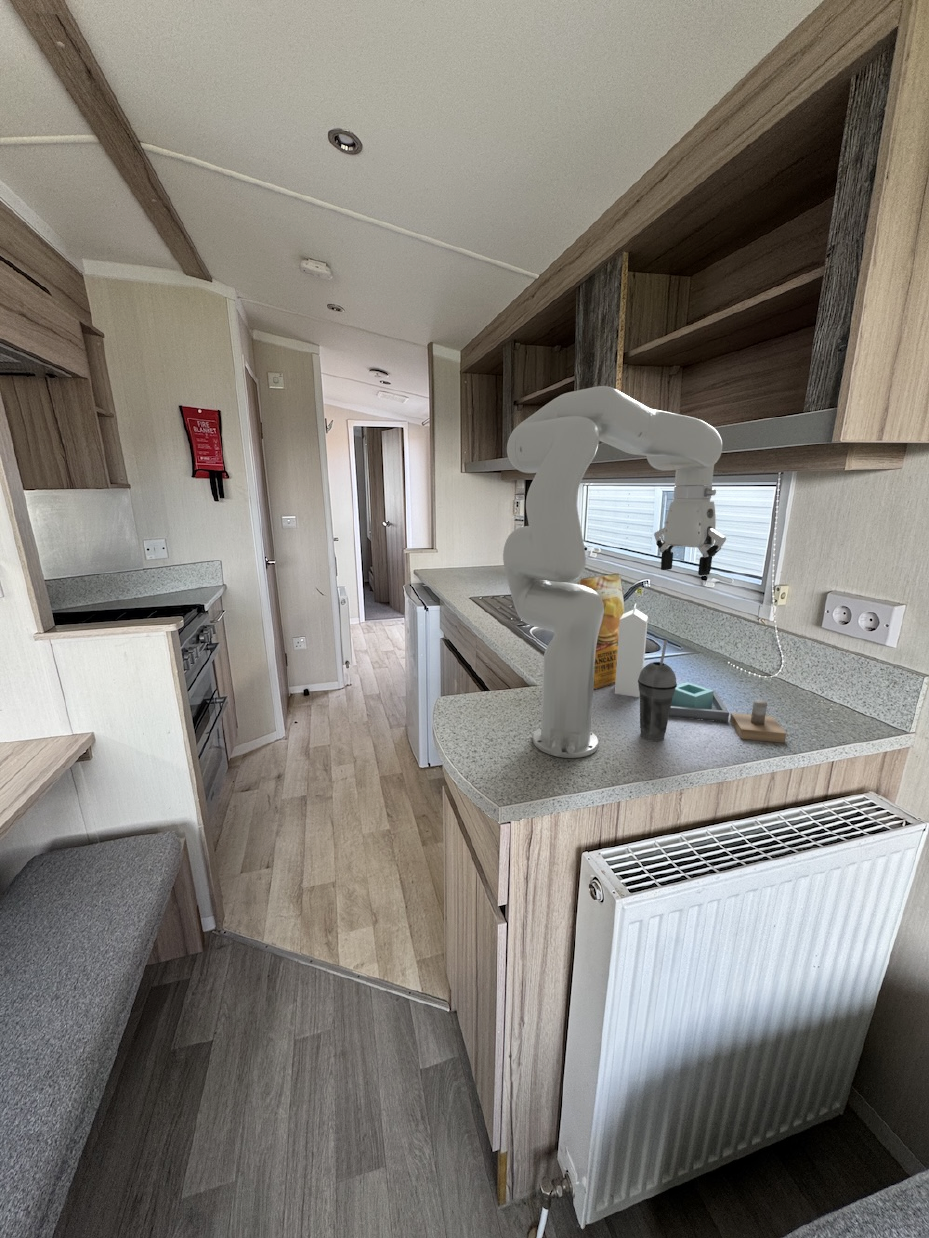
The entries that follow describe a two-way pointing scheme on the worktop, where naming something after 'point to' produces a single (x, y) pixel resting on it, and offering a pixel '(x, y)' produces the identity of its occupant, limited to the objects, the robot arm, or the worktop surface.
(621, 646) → the milk
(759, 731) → the wooden peg base
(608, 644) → the pancake mix bag
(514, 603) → the robot arm
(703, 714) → the tray
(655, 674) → the beverage cup
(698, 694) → the collar
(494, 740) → the worktop surface
